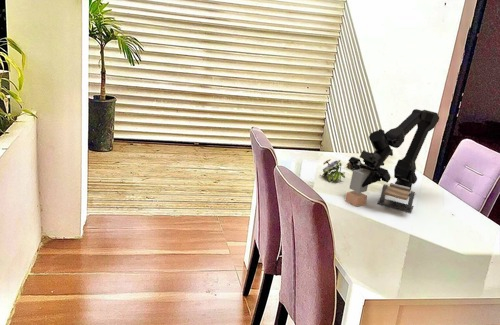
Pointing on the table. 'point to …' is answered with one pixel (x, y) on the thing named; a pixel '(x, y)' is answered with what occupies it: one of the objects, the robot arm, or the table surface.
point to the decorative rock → (351, 167)
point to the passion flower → (334, 167)
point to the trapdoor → (397, 191)
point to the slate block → (359, 180)
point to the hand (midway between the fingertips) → (357, 184)
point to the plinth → (356, 198)
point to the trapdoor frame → (395, 204)
